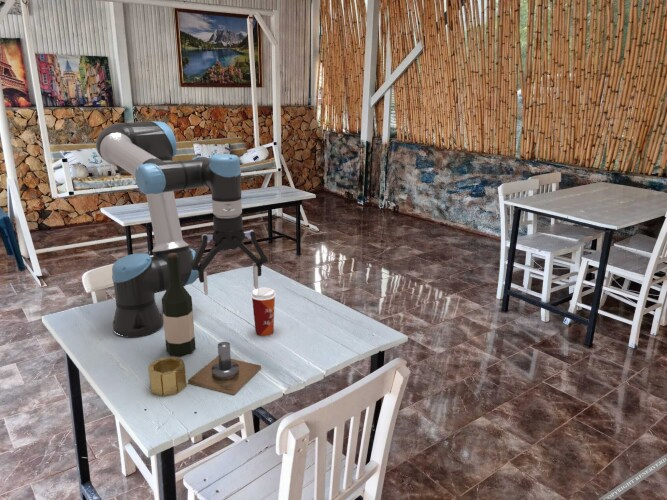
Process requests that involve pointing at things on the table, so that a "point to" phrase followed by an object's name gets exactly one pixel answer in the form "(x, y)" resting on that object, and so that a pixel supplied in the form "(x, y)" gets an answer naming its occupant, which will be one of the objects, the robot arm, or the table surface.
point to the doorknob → (225, 372)
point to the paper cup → (263, 310)
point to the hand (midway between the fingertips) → (231, 290)
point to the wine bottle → (177, 312)
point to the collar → (167, 376)
